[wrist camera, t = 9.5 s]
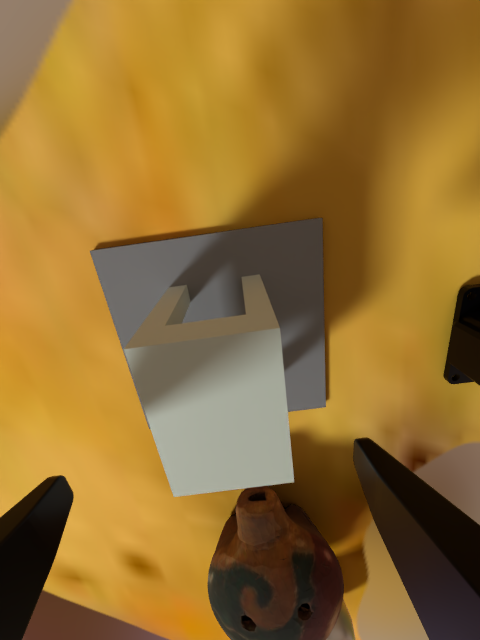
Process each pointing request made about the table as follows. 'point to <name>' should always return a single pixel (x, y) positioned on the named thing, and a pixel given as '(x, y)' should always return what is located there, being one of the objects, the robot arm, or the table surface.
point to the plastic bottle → (343, 626)
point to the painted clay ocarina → (274, 573)
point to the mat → (231, 289)
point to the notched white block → (214, 393)
